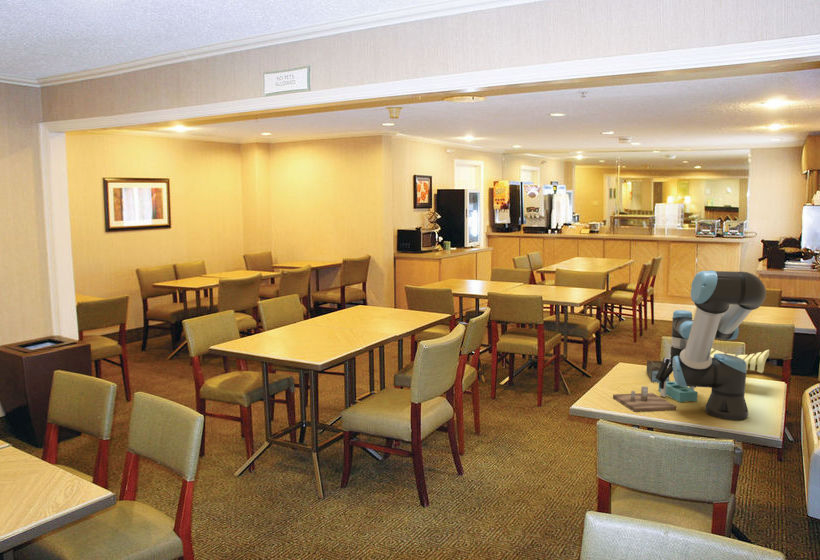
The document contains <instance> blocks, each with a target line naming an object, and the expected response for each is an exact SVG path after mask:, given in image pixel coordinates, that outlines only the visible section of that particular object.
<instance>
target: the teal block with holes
mask: <svg viewBox="0 0 820 560" xmlns="http://www.w3.org/2000/svg"><path fill="white" fill-rule="evenodd" d="M659 385H660V382H659V383H658V392H660V393H661V388H660V387H659ZM667 395H668V396H667ZM666 396H667V397H669V398H671V397H672V398H671V399H673V400H674V399H675V400H674V401H676V400H677V402H678V401H679V402H678V403H686V402H685V401H695V402H697V401H698V391H696V390H695V389H694V390H692V389H690V388H689V386H688V387H686V386H680V385H678V384H676V382H675V380H673V381H672V380H671V381H670V380H669V382H666Z"/></svg>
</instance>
